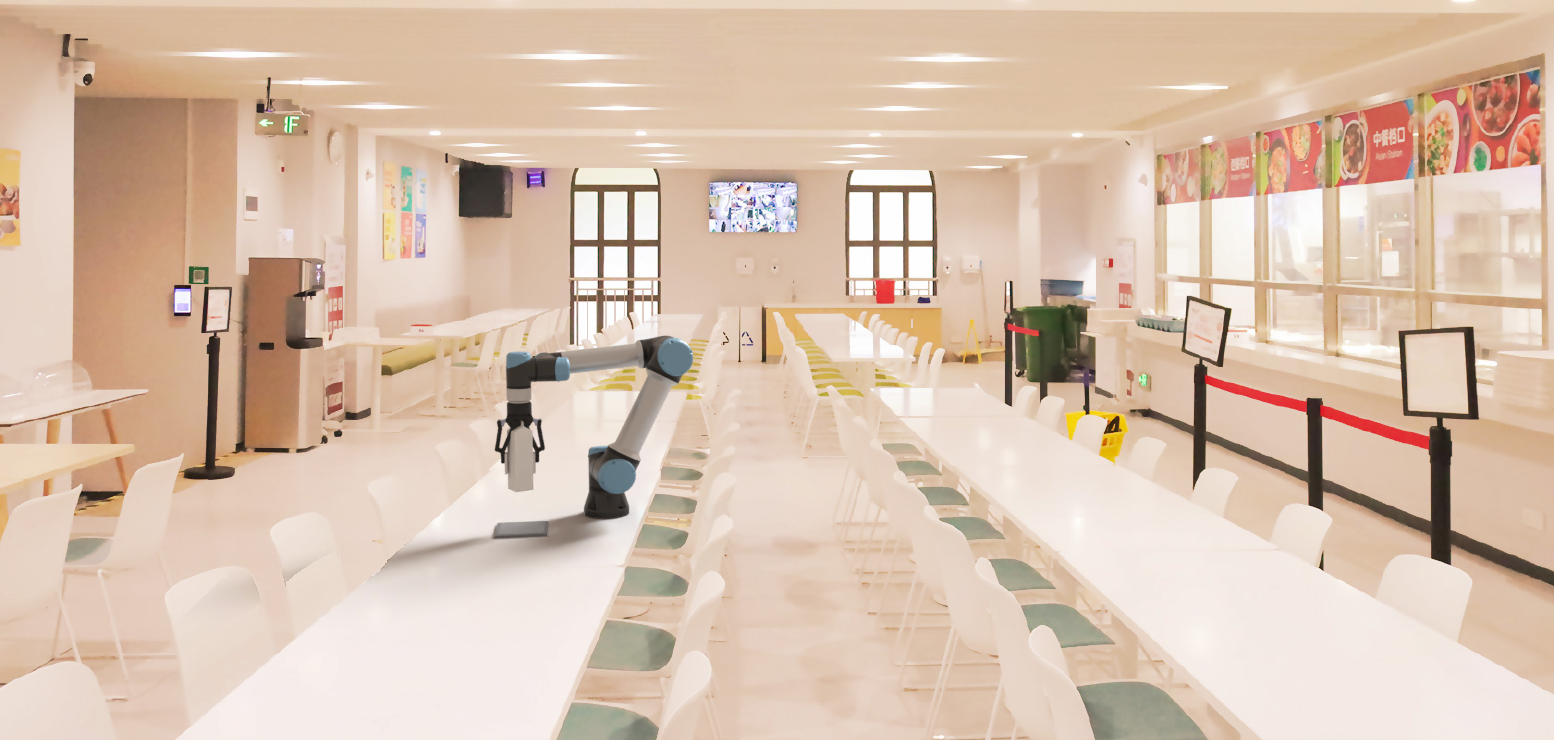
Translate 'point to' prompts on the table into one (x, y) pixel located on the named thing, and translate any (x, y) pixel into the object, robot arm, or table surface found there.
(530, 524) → the mat
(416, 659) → the table surface
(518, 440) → the milk
